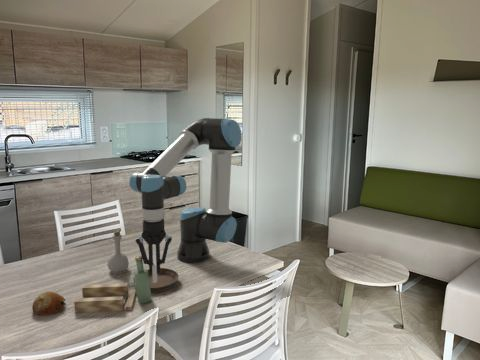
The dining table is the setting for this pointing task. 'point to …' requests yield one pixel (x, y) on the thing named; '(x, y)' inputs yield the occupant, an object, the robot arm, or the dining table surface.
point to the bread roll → (48, 303)
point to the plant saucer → (163, 279)
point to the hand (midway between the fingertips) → (155, 281)
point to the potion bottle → (118, 257)
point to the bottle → (142, 282)
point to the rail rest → (104, 298)
